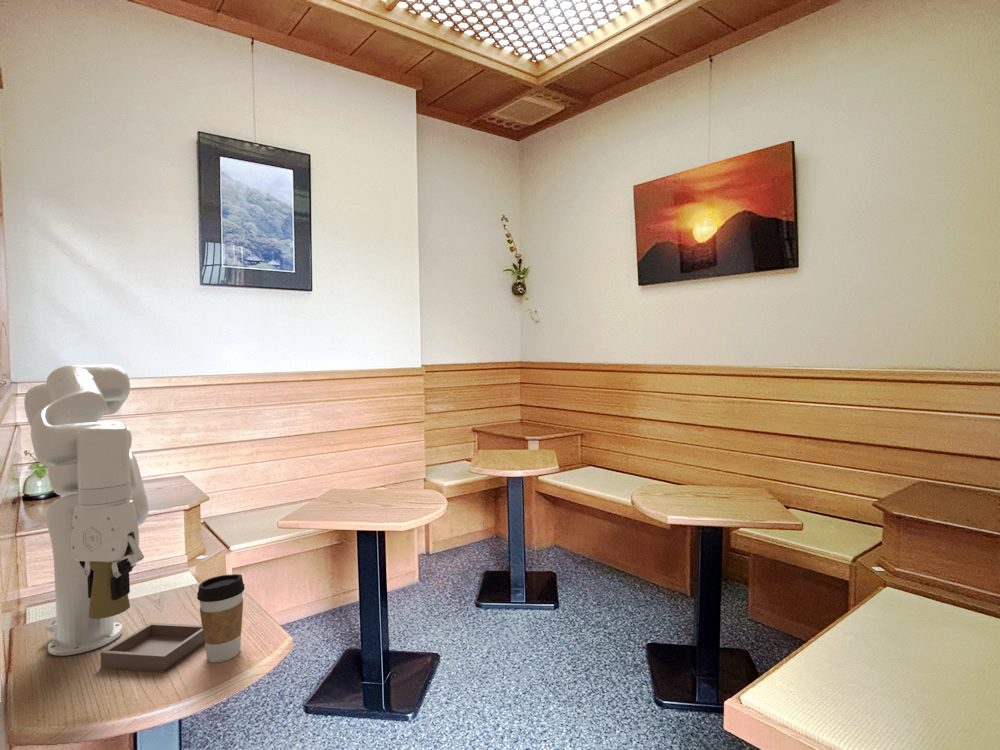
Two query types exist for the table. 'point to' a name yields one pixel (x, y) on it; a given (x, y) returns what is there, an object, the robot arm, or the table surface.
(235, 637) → the coffee cup
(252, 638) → the table surface
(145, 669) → the lacquer tray
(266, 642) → the table surface
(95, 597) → the tan tall rounded piece
